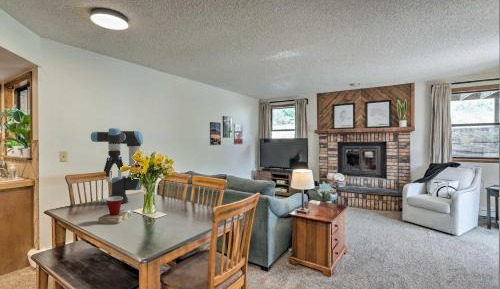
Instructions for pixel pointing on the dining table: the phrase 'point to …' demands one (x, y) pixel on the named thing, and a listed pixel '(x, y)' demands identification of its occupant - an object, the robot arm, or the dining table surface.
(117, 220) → the maple open box
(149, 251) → the dining table surface
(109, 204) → the plastic cup
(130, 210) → the pale green ball
